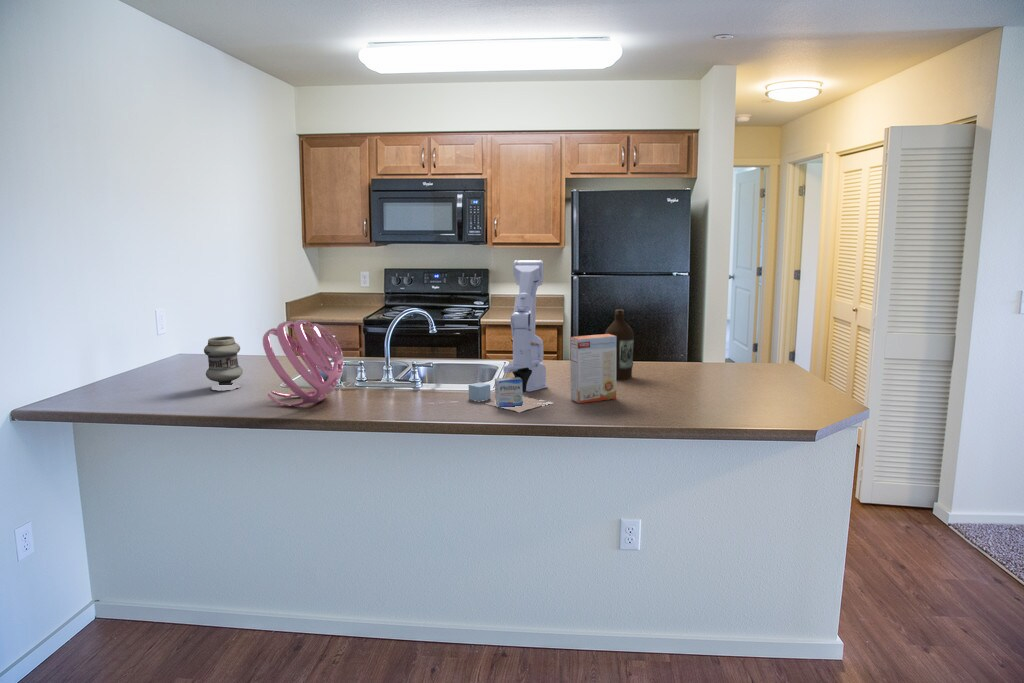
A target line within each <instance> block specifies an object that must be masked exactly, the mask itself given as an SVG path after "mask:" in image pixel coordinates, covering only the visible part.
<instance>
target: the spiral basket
mask: <svg viewBox="0 0 1024 683" xmlns="http://www.w3.org/2000/svg"><path fill="white" fill-rule="evenodd" d="M303 324H304V325H306V326H307V327H308V328H310V329H311V330H312V331H311V332H312V334H313V336H314V337H313V336H312V335H311V334H310V333H309V332H308V331H307V330H305V329H304V325H303ZM286 327H289V328H291V329H293V330H294V334H295V335H296V338H297V340H298V341H297V340H296V339H295V338H293V337H292V336H291V335H289V334H288V333H287V332H286V330H285V329H286ZM322 331H323V332H324V333H325V334H324V333H323V332H322ZM270 335H273V336H276V337H277V340H278V342H279V345H280V347H281V350H282V351H283V353H284V355H285V357H286V358H287V360H288V361H289V362H290V364H291V365H292V367H293V368H294V369H295V371H296V372H297V373H298V374H299V375H300V377H301V378H303V380H304V381H305V382H306V383H307V384H309V385H310V386H311V387H312V388H314V389H312V390H309V391H304V390H303V389H302V388H301V387H300V386H299V385H298V384H297V383H296V382H295V381H294V380H293V379H292V378H291V377H290V376H289V374H288V373H287V372H286V370H285V369H284V368H283V366H282V365H281V363H280V361H279V360H278V357H277V356H276V354H275V352H274V350H273V347H272V344H271V341H270V340H271V339H270ZM326 335H327V336H328V337H327V336H326ZM314 338H315V339H314ZM328 338H330V340H331V341H332V342H333V344H334V345H335V346H334V345H333V344H332V343H331V341H330V340H329V339H328ZM262 347H263V350H264V353H265V355H266V358H267V360H268V362H269V363H270V365H271V367H272V368H273V370H274V371H275V373H276V374H277V376H278V377H279V378H280V379H281V381H282V382H283V383H284V384H285V386H286V387H287V388H288V389H289V390H291V391H292V392H293V393H292V394H290V393H281V392H277V391H273V390H272V391H270V393H268V394H267V396H268V397H269V399H270V400H272V401H273V402H274V403H276V404H277V405H280V404H283V405H291V406H296V407H301V406H300V405H302V406H305V405H310V404H318V402H319V403H321V402H322V401H323V400H324V399H326V396H327V395H328V394H331V393H333V392H334V390H335V389H336V387H337V386H338V380H339V379H341V377H342V376H343V371H344V353H343V350H342V348H341V346H340V344H339V342H338V341H337V340H336V338H335V337H334V336H333V334H332V333H331V332H330V331H329V330H328V329H327V328H325V327H324V326H323V325H321V324H320V323H319V324H318V323H312V322H311V321H308V320H306V319H298V320H295V321H290V320H289V321H288V320H287V321H283V322H280V323H279V324H278V325H277V327H276V328H274V327H273V328H270V329H268V330H267V331H265V333H264V334H263V336H262ZM294 351H295V352H296V353H295V352H294ZM297 354H298V356H299V357H300V358H301V360H302V361H303V362H301V360H300V359H299V357H298V356H297ZM329 358H330V359H331V360H332V361H333V364H332V363H331V361H330V359H329ZM303 363H304V364H305V365H306V366H305V365H304V364H303ZM320 371H321V372H322V373H323V374H324V375H326V376H327V379H326V381H324V378H323V377H322V374H321V372H320ZM271 394H273V395H275V396H278V397H282V398H286V397H291V396H299V397H300V398H299V399H301V401H299V402H293V403H289V402H287V403H286V402H283V401H280V400H278V399H277V398H275V397H274V396H273V395H271ZM320 401H321V402H320ZM283 405H282V406H283Z"/></svg>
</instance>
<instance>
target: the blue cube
mask: <svg viewBox="0 0 1024 683" xmlns="http://www.w3.org/2000/svg"><path fill="white" fill-rule="evenodd" d="M469 399H472V400H476V401H482V400H486V399H490V400H491V384H489V383H484V382H475V383H471V384H468V400H469ZM472 400H471V401H472ZM476 401H475V402H476ZM486 401H487V400H486ZM482 402H483V401H482Z"/></svg>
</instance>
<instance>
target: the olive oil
mask: <svg viewBox="0 0 1024 683" xmlns="http://www.w3.org/2000/svg"><path fill="white" fill-rule="evenodd" d="M614 312H615V313H614V321H612V323H611V324H610V325H609V326H608V327H607V328H606V330H605V333H604V334H611V335H614V336H617V340H616V381H624V380H625V381H626V380H630V379H632V376H633V372H632V371H633V366H634V362H633V358H634V346H635V345H634V343H635V342H634V341H635V334H634V331H633V329H632V327H630V325H629V324H628V323H627V322H626V321H625V309H615V310H614Z"/></svg>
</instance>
